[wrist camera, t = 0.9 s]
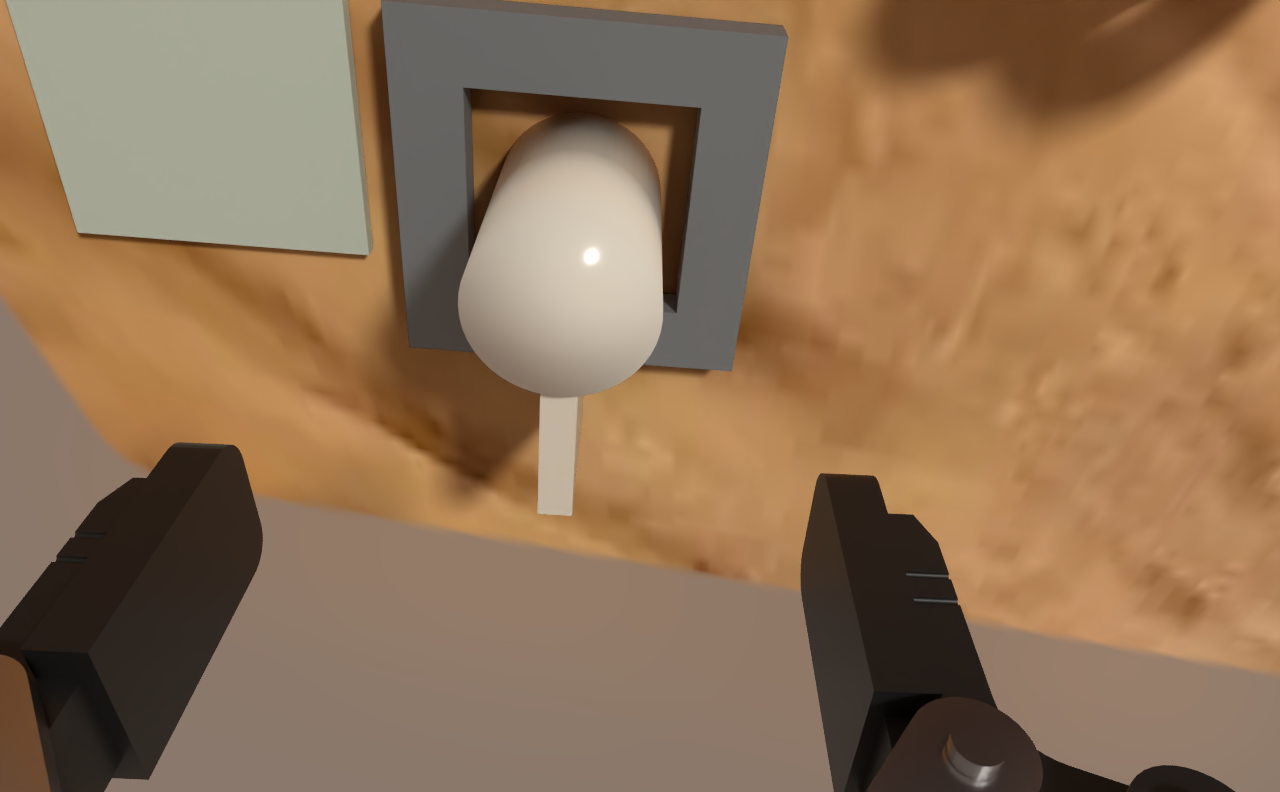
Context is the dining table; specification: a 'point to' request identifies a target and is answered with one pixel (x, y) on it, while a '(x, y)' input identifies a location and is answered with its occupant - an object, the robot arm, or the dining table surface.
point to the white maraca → (567, 277)
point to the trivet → (203, 118)
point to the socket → (587, 68)
